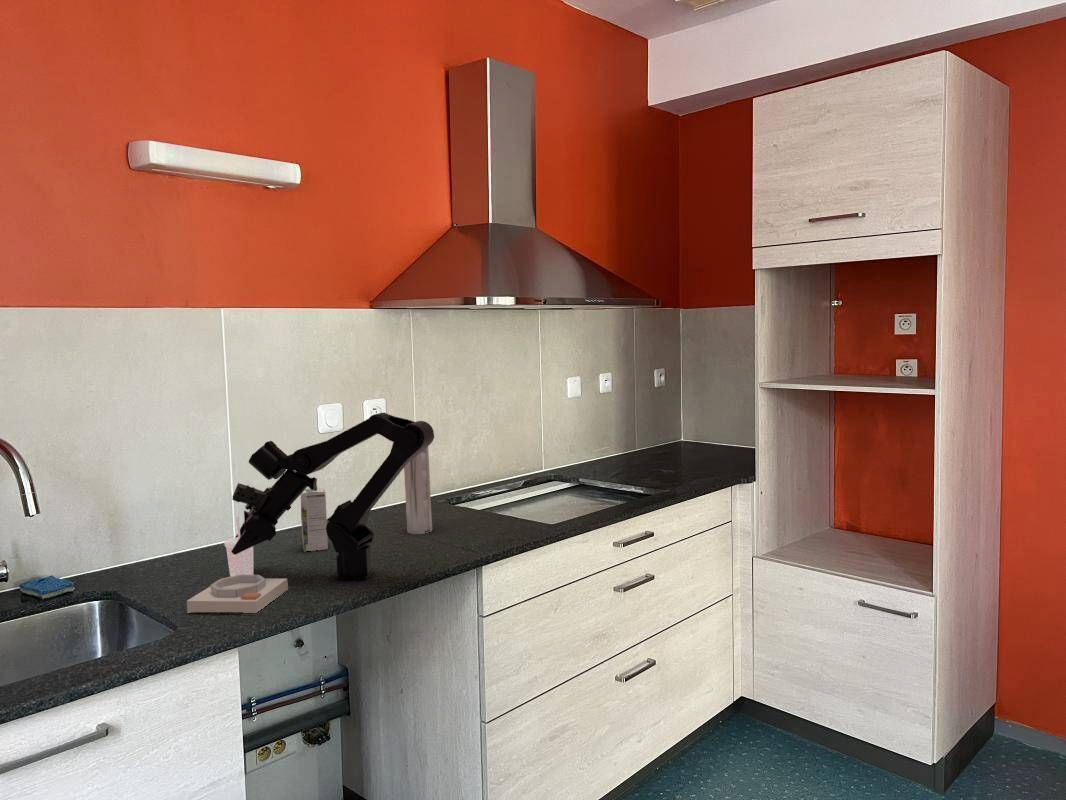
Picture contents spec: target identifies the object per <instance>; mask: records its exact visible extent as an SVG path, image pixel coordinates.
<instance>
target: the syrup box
mask: <svg viewBox="0 0 1066 800" xmlns="http://www.w3.org/2000/svg"><path fill="white" fill-rule="evenodd" d="M326 498H327V497H326V491H325V489H324V488H323V487H317V491H314V490H311V489H310V488H309V487H308V488H306V489H305V490H304V491H303V492H302V493H301V494H300V513H301V514H300V516H301V517H300V519H301V520H300V521H301V537H302V541H301V542H302V549H303V551H304V552H305V553H307V552H306V551H311V552H317V551H316V550H318V551H324V550H325V551H326V550H329V543H328V541H329V538H328V535H327V532H326V526H327V524H328V520H327V519H328V518H327V499H326Z"/></svg>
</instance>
